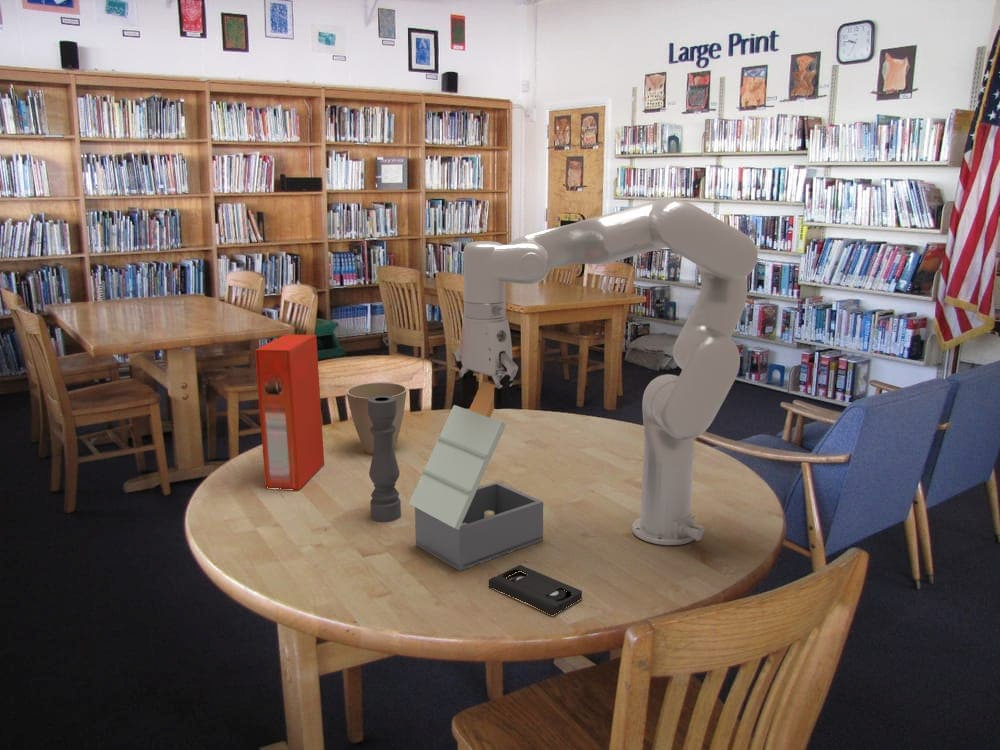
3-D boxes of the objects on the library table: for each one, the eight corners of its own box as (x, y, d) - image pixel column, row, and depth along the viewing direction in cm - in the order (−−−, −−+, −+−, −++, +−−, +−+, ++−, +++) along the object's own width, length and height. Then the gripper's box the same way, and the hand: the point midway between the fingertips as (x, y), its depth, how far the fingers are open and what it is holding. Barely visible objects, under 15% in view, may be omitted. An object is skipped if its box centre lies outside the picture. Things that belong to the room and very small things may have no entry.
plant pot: (355, 440, 224) (353, 382, 220) (412, 441, 223) (410, 382, 219) (343, 459, 209) (340, 397, 205) (403, 460, 209) (401, 397, 205)
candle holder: (405, 511, 178) (402, 396, 172) (394, 523, 172) (390, 404, 166) (378, 508, 179) (373, 394, 173) (365, 520, 173) (361, 402, 167)
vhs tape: (582, 601, 142) (583, 591, 141) (552, 619, 136) (552, 608, 136) (519, 574, 151) (519, 564, 151) (488, 590, 146) (488, 579, 145)
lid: (520, 393, 153) (514, 390, 152) (459, 529, 149) (453, 527, 148) (471, 378, 163) (465, 375, 162) (413, 505, 160) (407, 503, 159)
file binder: (264, 489, 190) (254, 349, 182) (292, 463, 207) (284, 334, 199) (299, 491, 189) (290, 350, 181) (324, 464, 206) (317, 335, 198)
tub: (542, 540, 164) (543, 501, 162) (459, 571, 151) (459, 529, 150) (497, 518, 174) (496, 481, 172) (415, 544, 162) (414, 505, 160)
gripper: (532, 314, 149) (531, 408, 153) (472, 303, 162) (472, 389, 166) (499, 319, 144) (499, 416, 148) (439, 307, 157) (441, 396, 161)
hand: (485, 402), depth 157 cm, fingers open, 9 cm apart
